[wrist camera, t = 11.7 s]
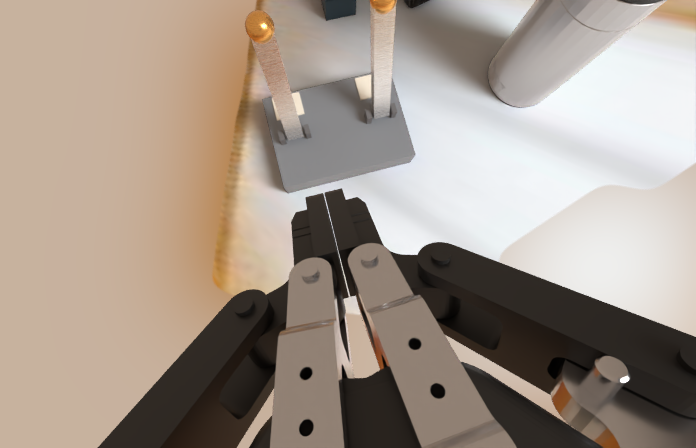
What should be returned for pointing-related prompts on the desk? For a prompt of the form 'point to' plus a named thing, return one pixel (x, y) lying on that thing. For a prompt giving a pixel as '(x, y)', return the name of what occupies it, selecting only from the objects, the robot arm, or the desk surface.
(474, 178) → the desk surface
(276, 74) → the lever
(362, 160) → the switch console
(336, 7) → the stone sculpture on base
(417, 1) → the portable radio
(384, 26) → the lever
